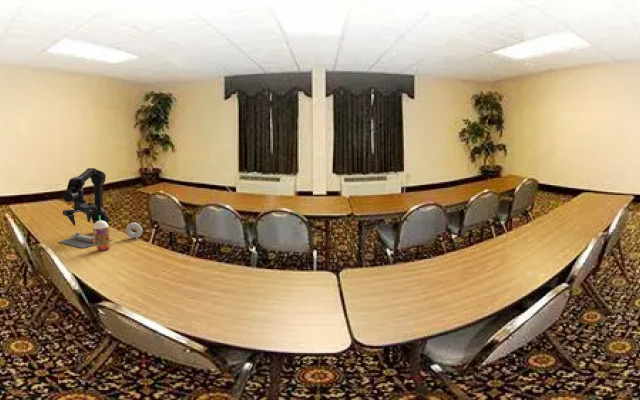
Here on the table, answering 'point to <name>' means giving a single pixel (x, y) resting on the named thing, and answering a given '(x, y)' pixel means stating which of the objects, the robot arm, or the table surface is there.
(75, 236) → the tong fixed arm
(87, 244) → the rubber mat
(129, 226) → the donut
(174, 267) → the table surface
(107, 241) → the smoothie
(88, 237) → the tong moving arm
